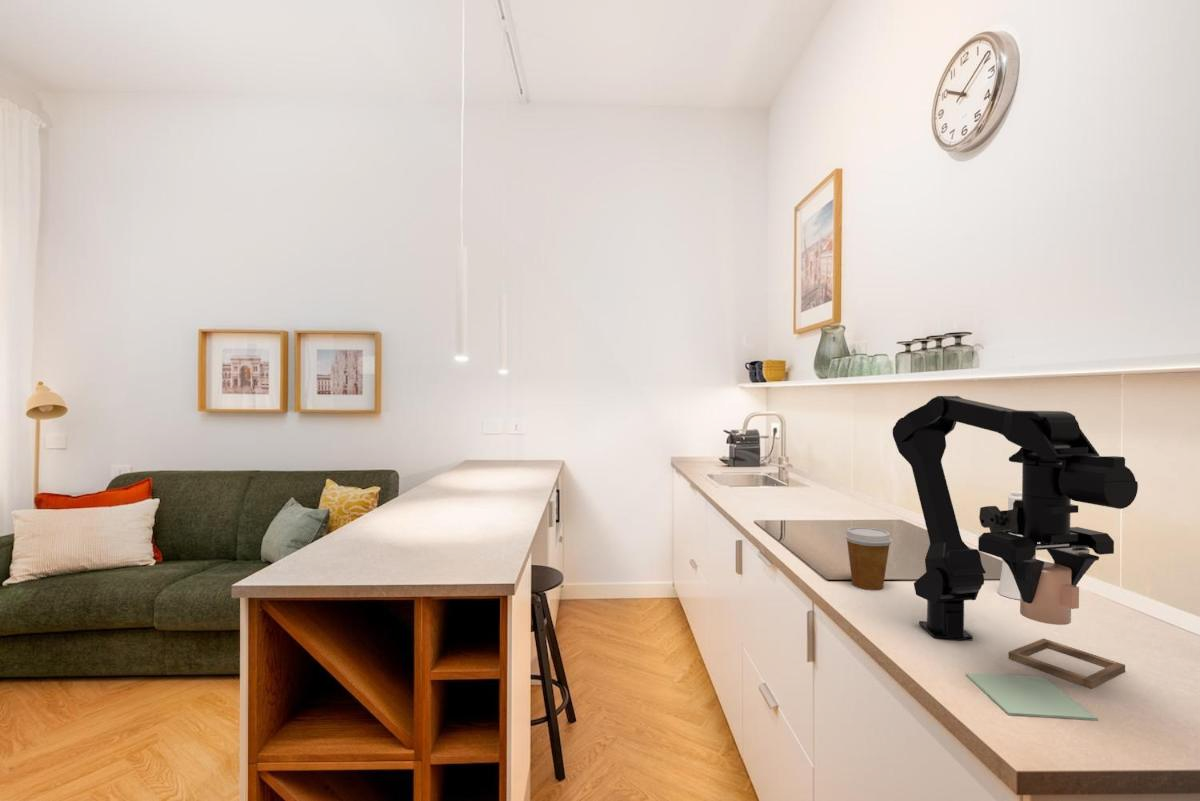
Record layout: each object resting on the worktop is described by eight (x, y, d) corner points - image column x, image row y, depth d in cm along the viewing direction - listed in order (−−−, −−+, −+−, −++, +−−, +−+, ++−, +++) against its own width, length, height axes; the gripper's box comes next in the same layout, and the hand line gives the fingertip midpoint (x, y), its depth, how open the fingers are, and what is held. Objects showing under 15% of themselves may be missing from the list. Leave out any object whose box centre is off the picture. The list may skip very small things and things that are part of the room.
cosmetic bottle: (991, 592, 125) (992, 490, 125) (1009, 588, 128) (1010, 488, 127) (1021, 601, 120) (1022, 495, 119) (1039, 597, 122) (1040, 493, 122)
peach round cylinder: (1010, 611, 89) (1010, 561, 89) (1041, 607, 90) (1042, 559, 90) (1058, 630, 82) (1058, 576, 81) (1091, 626, 83) (1092, 573, 83)
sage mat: (965, 675, 89) (965, 673, 89) (1043, 679, 87) (1043, 677, 87) (1008, 715, 78) (1008, 712, 78) (1098, 720, 76) (1098, 718, 76)
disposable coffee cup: (877, 578, 135) (878, 526, 135) (900, 592, 125) (900, 536, 125) (837, 578, 135) (837, 526, 134) (856, 592, 125) (857, 537, 125)
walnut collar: (1008, 658, 94) (1008, 652, 94) (1043, 644, 100) (1043, 638, 100) (1091, 688, 85) (1091, 681, 85) (1125, 671, 90) (1125, 664, 90)
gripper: (1044, 485, 96) (1043, 579, 96) (948, 489, 92) (948, 587, 92) (1117, 497, 85) (1116, 603, 86) (1013, 502, 81) (1012, 613, 81)
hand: (1044, 600), depth 86 cm, fingers closed on peach round cylinder, 6 cm apart
